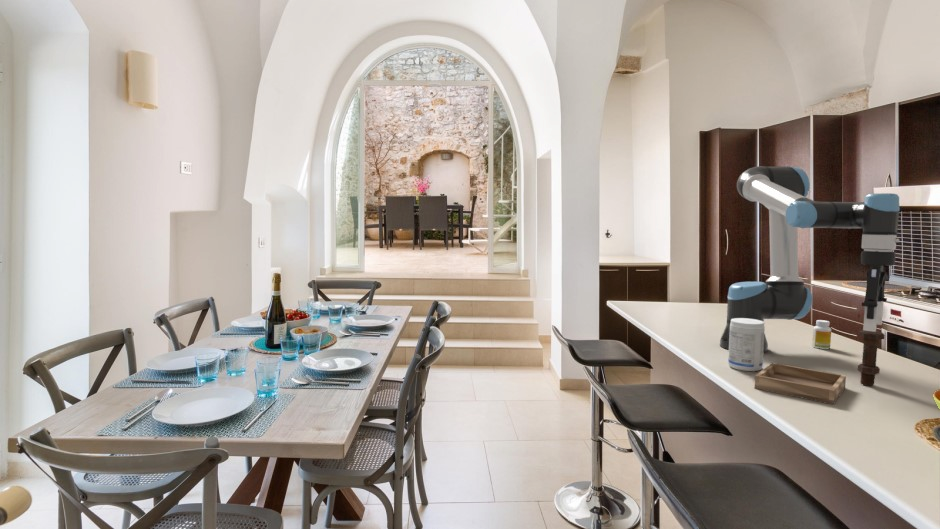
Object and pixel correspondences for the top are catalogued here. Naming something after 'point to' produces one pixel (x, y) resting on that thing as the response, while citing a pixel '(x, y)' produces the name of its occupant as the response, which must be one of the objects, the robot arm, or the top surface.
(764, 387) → the tray
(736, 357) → the supplement tub
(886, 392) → the top surface
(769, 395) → the top surface
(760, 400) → the top surface
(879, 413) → the top surface
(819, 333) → the supplement bottle
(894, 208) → the robot arm
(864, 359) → the bolt
